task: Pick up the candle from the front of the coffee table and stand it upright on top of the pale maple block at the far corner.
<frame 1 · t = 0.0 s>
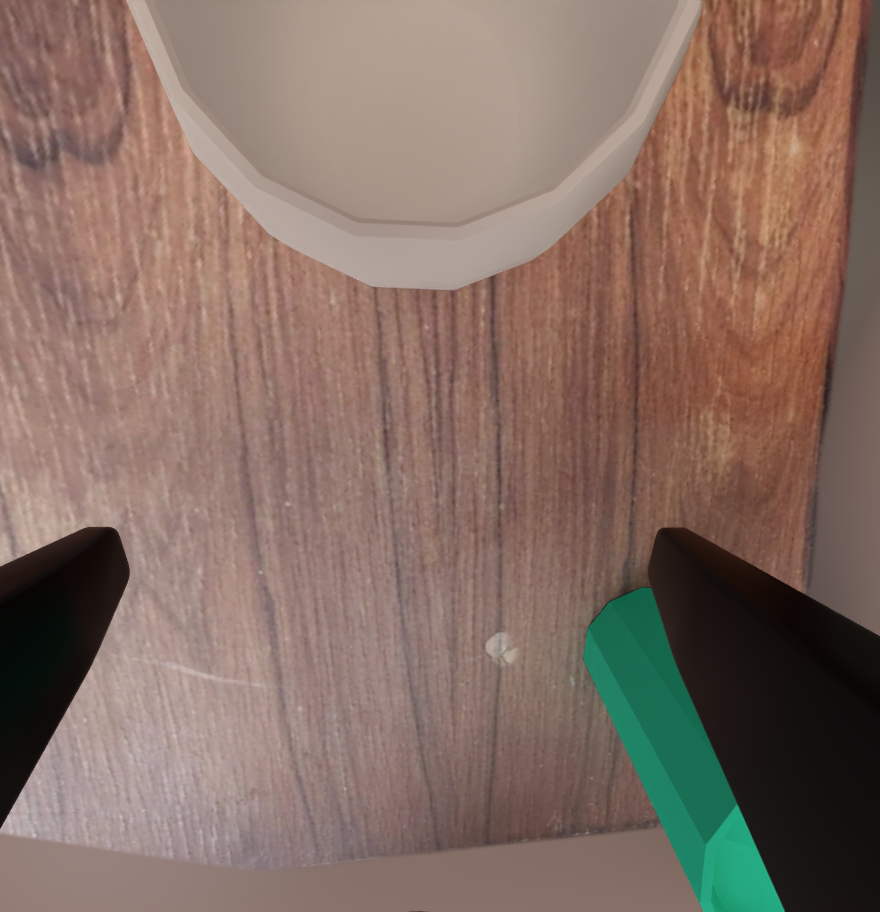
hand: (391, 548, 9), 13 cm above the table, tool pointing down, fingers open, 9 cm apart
candle: (647, 644, 24), on the table
cup: (421, 126, 19), on the table
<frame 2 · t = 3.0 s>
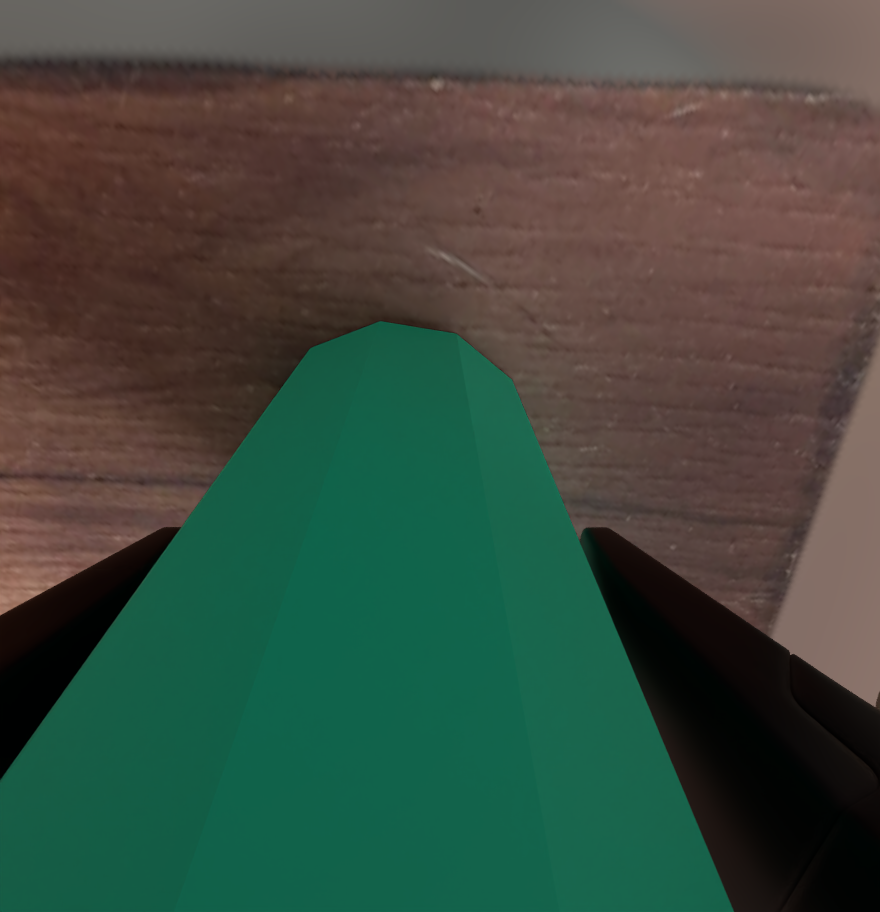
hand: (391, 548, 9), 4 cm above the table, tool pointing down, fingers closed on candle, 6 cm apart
candle: (399, 449, 12), on the table, touching gripper
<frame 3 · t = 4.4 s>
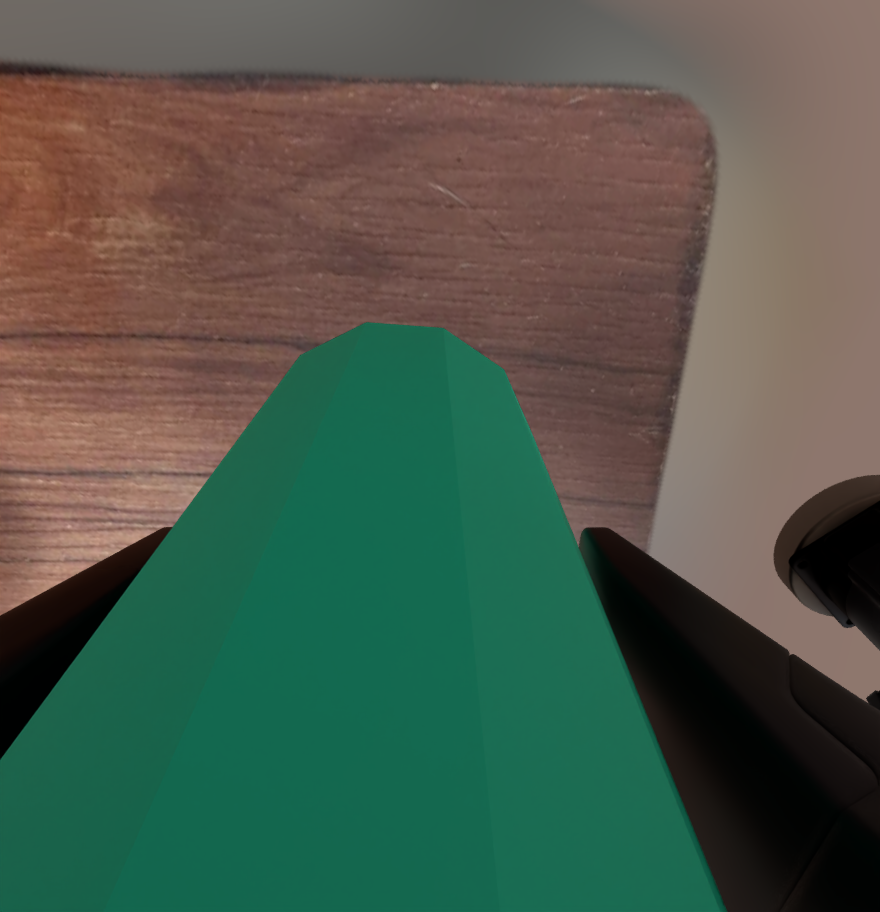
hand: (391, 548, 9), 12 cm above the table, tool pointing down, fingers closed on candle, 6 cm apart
candle: (399, 448, 12), point 8 cm above the table, touching gripper
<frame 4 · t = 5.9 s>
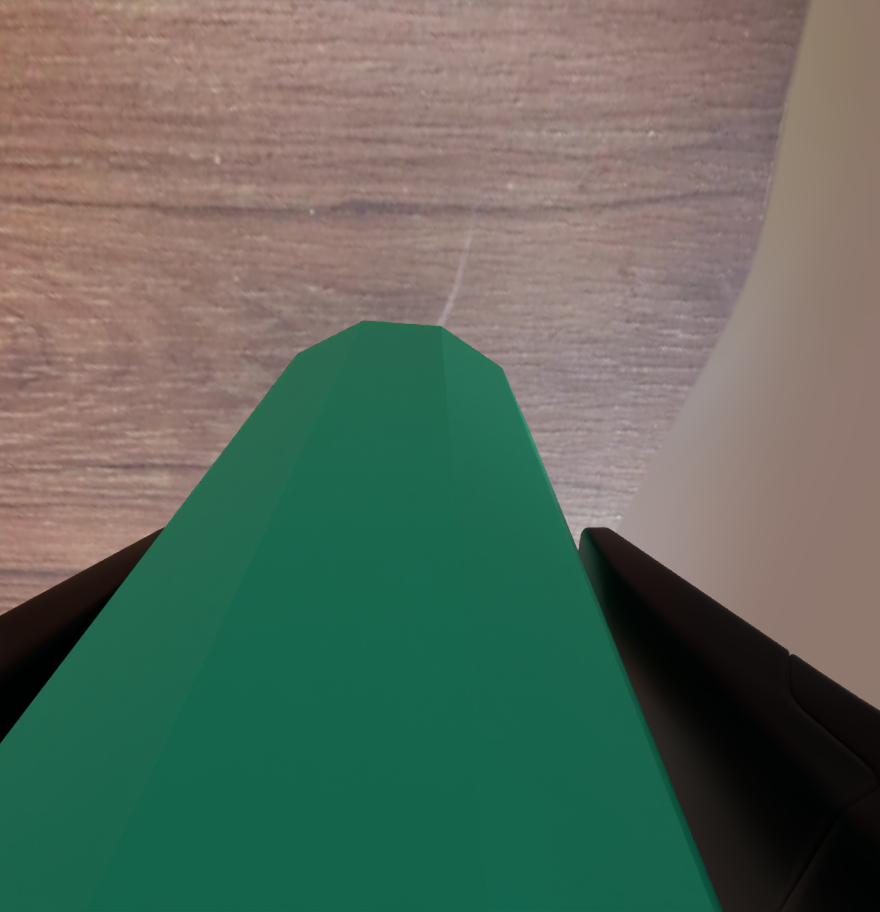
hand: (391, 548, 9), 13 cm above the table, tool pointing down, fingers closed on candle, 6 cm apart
candle: (397, 447, 12), point 9 cm above the table, touching gripper
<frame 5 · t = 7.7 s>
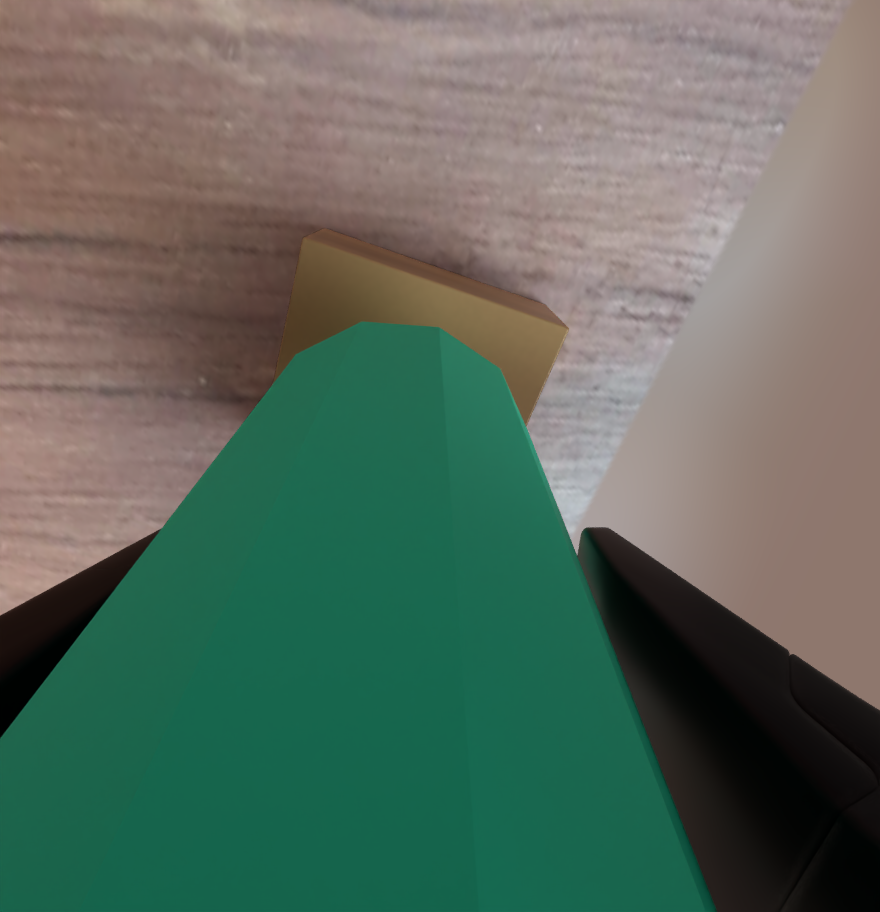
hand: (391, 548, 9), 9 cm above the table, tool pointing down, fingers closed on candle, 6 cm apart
maple block: (405, 374, 17), on the table
candle: (395, 448, 12), point 6 cm above the table, touching gripper
when the fingers open (7 cm above the table, at t = 9.3 s): candle stays where it is, resting on maple block.
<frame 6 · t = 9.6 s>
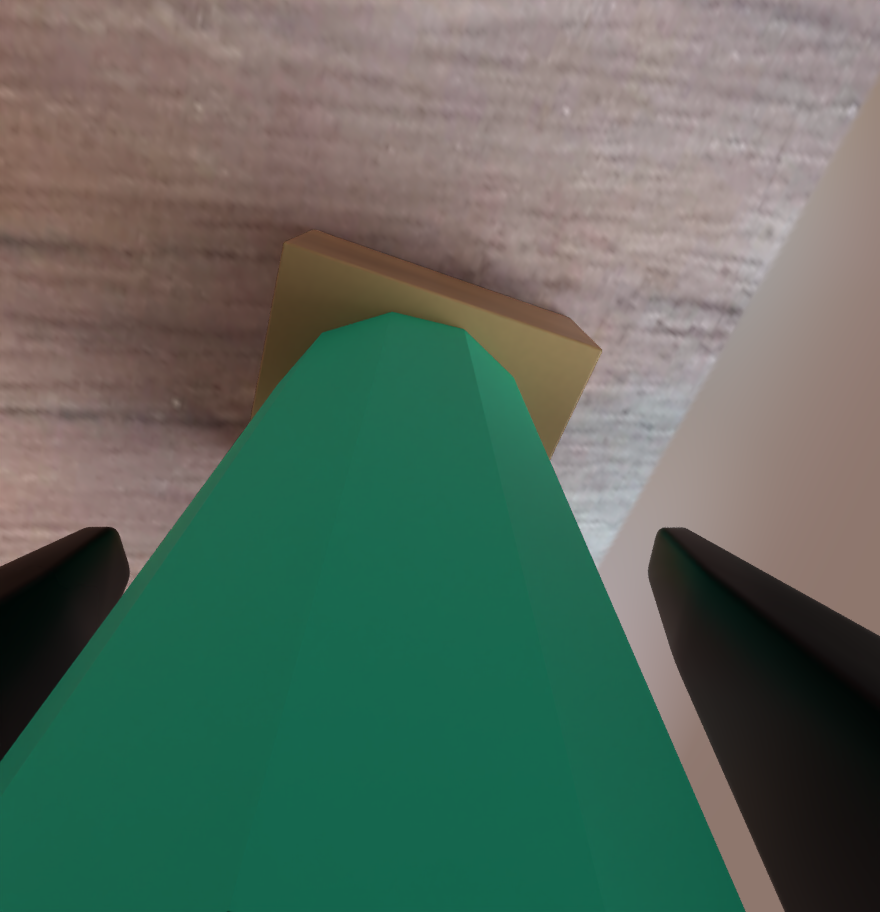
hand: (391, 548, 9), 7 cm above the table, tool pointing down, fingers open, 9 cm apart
maple block: (407, 396, 15), on the table, touching candle
candle: (400, 437, 13), point 3 cm above the table, touching maple block
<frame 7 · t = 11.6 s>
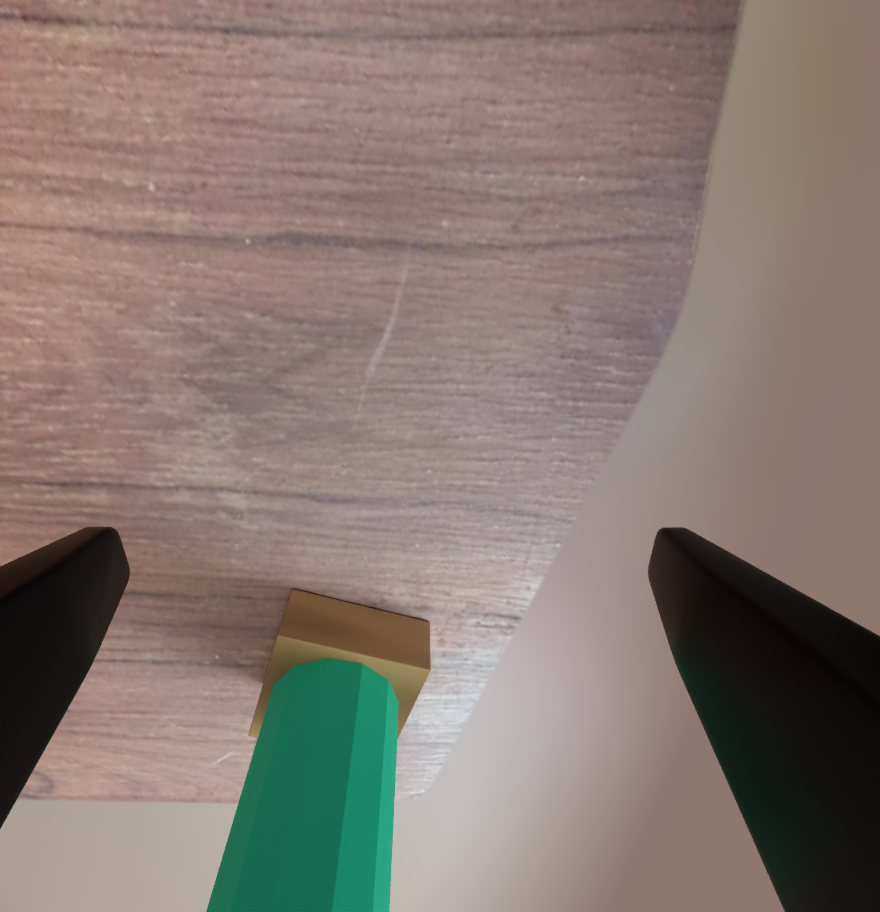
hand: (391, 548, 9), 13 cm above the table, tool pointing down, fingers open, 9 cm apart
maple block: (344, 654, 28), on the table, touching candle
candle: (335, 700, 25), point 3 cm above the table, touching maple block
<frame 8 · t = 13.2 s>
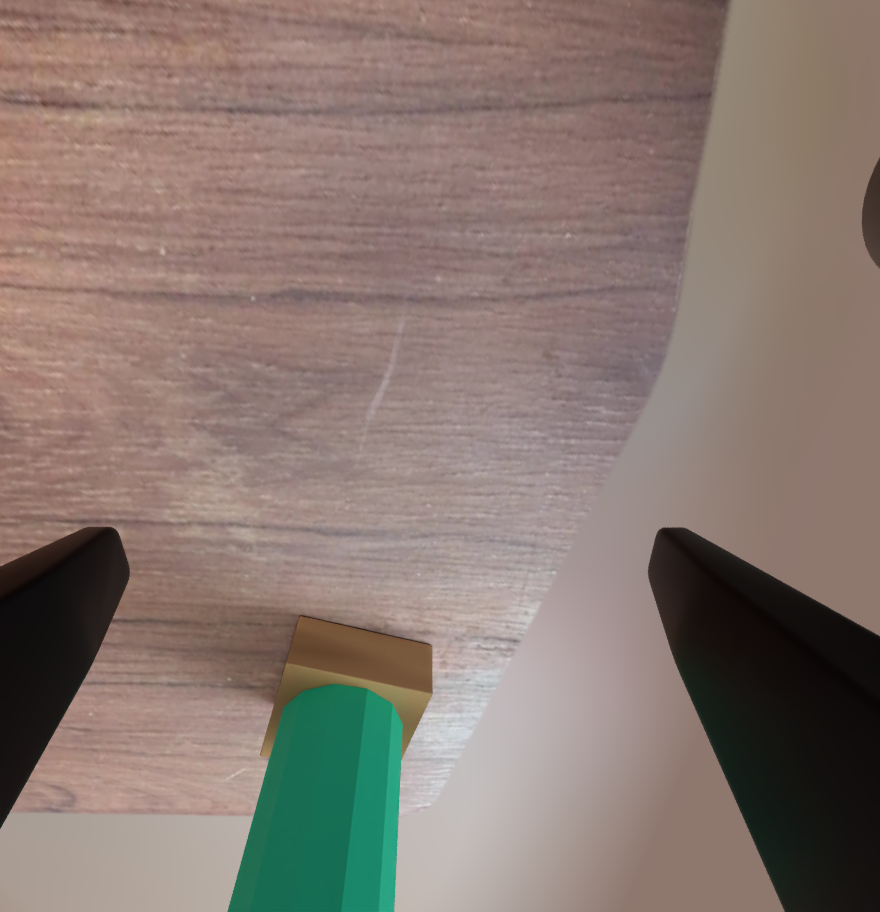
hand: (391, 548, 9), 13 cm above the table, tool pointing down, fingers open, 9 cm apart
maple block: (350, 676, 29), on the table, touching candle
candle: (342, 722, 26), point 3 cm above the table, touching maple block
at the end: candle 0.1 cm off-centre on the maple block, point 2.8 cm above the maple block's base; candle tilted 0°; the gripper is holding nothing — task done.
